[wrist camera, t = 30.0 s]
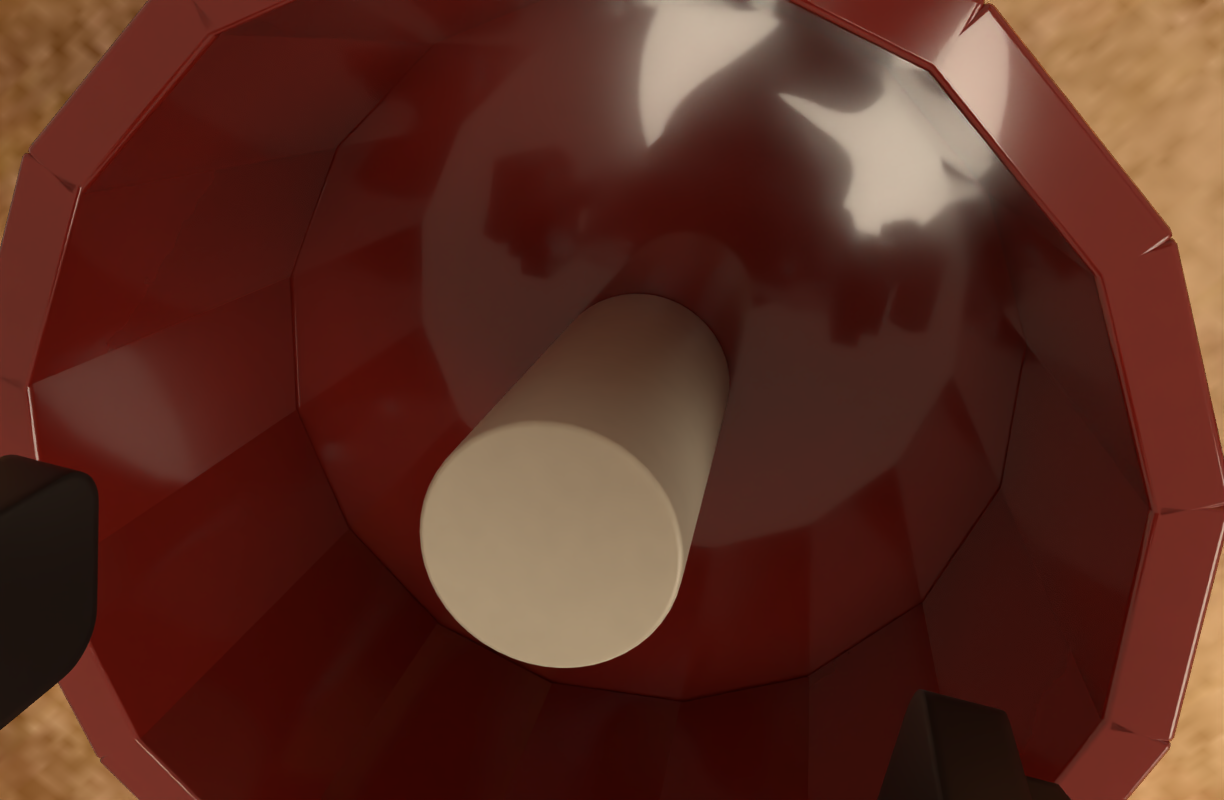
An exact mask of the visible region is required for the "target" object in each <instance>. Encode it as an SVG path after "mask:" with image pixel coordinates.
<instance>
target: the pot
mask: <svg viewBox="0 0 1224 800" xmlns="http://www.w3.org/2000/svg"><path fill="white" fill-rule="evenodd" d="M28 152H29V153H25V154H24V155H23V157H22V161H21V165H20V169H19V173H18V177H17V182H16V186H15V190H14V194H13V198H12V202H11V206H10V210H9V214H8V218H7V222H6V226H5V230H4V234H3V238H2V242H1V246H0V457H2V456H5V455H19V456H23V457H27V458H30V459H34V460H38V461H42V462H46V463H50V464H54V465H58V466H62V467H65V468H69V469H73V470H77V471H81V472H84V473H87V474H88V475H89V476H91V477H92V479H93V480H94V482H95V484H96V486H97V490H98V495H99V527H98V588H97V617H96V622H95V626H94V630H93V633H92V636H91V639H90V641H89V643H88V646H87V648H86V650H85V651H84V653H83V655H82V657H81V658H80V660H79V661H78V663H77V664H76V665H75V667H74V668H73V669H72V670H71V671H70V672H69V673H68V674H67V675H66V676H65V677H64V678H63V679H61V680H60V681H59V682H58V684H59V686H60V687H61V689H62V691H63V693H64V695H65V697H66V699H67V701H68V703H69V704H70V706H71V708H72V710H73V712H74V714H75V716H76V718H77V720H78V721H79V723H80V725H81V727H82V729H83V731H84V733H85V735H86V737H87V738H88V740H89V742H90V744H91V746H92V748H93V750H94V752H95V754H96V755H97V757H99V758H101V759H100V762H101V763H102V764H103V765H104V766H105V767H106V768H107V769H108V770H109V771H110V772H111V773H112V774H113V775H114V776H115V777H116V778H117V779H118V780H119V781H120V782H121V783H122V784H123V785H124V786H125V787H126V788H127V789H128V790H129V791H130V792H131V793H132V794H133V795H134V796H136V797H137V798H138V799H139V800H877V799H878V796H879V793H880V790H881V787H882V784H883V781H884V777H885V774H886V771H887V768H888V765H889V762H890V759H891V756H892V753H893V750H894V747H895V744H896V741H897V738H898V735H899V731H900V728H901V725H902V722H903V719H904V716H905V713H906V710H907V708H908V705H909V703H910V700H911V699H912V697H913V695H914V694H915V692H916V691H917V690H919V689H922V690H926V691H930V692H934V693H938V694H942V695H946V696H950V697H954V698H958V699H961V700H965V701H969V702H973V703H977V704H981V705H985V706H989V707H993V708H997V709H1000V710H1003V711H1004V712H1005V713H1006V714H1007V716H1008V718H1009V721H1010V725H1011V728H1012V731H1013V735H1014V738H1015V742H1016V745H1017V749H1018V752H1019V756H1020V759H1021V762H1022V766H1023V769H1024V773H1025V776H1029V777H1033V778H1037V779H1041V780H1044V781H1048V782H1052V783H1056V784H1059V785H1060V787H1061V788H1062V789H1063V790H1064V792H1065V793H1066V794H1067V795H1068V796H1069V798H1070V799H1071V800H1127V799H1128V798H1129V797H1130V796H1131V794H1132V793H1133V792H1134V791H1135V790H1136V789H1137V787H1138V786H1139V785H1140V784H1141V783H1142V781H1143V780H1144V779H1145V778H1146V777H1147V775H1148V774H1149V773H1150V772H1151V771H1152V769H1153V768H1154V767H1155V766H1156V765H1157V764H1158V762H1159V761H1160V760H1161V759H1162V758H1163V756H1164V755H1165V754H1166V753H1167V752H1168V750H1169V749H1170V744H1171V743H1170V741H1172V740H1173V738H1174V735H1175V732H1176V728H1177V724H1178V720H1179V716H1180V712H1181V708H1182V704H1183V700H1184V696H1185V692H1186V688H1187V684H1188V681H1189V677H1190V673H1191V669H1192V665H1193V661H1194V657H1195V653H1196V649H1197V645H1198V641H1199V637H1200V634H1201V630H1202V626H1203V622H1204V618H1205V614H1206V610H1207V606H1208V602H1209V598H1210V594H1211V590H1212V586H1213V583H1214V579H1215V575H1216V571H1217V567H1218V563H1219V559H1220V555H1221V551H1222V547H1223V543H1224V456H1223V451H1222V446H1221V442H1220V437H1219V433H1218V428H1217V424H1216V419H1215V414H1214V410H1213V405H1212V401H1211V396H1210V391H1209V387H1208V382H1207V378H1206V373H1205V369H1204V364H1203V359H1202V355H1201V350H1200V346H1199V341H1198V337H1197V332H1196V327H1195V323H1194V318H1193V314H1192V309H1191V304H1190V300H1189V295H1188V291H1187V286H1186V282H1185V277H1184V272H1183V268H1182V263H1181V259H1180V254H1179V249H1178V245H1177V243H1176V242H1175V240H1174V239H1173V238H1171V236H1172V232H1171V229H1170V227H1169V226H1168V225H1167V224H1166V222H1165V221H1164V220H1163V219H1162V217H1161V216H1160V215H1159V213H1158V212H1157V211H1156V210H1155V208H1154V207H1153V206H1152V205H1151V203H1150V202H1149V201H1148V200H1147V198H1146V197H1145V196H1144V194H1143V193H1142V192H1141V191H1140V189H1139V188H1138V187H1137V186H1136V184H1135V183H1134V182H1133V180H1132V179H1131V178H1130V177H1129V175H1128V174H1127V173H1126V172H1125V170H1124V169H1123V168H1122V167H1121V165H1120V164H1119V163H1118V161H1117V160H1116V159H1115V158H1114V156H1113V155H1112V154H1111V153H1110V151H1109V150H1108V149H1107V148H1106V146H1105V145H1104V144H1103V142H1102V141H1101V140H1100V139H1099V137H1098V136H1097V135H1096V134H1095V132H1094V131H1093V130H1092V129H1091V127H1090V126H1089V125H1088V123H1087V122H1086V121H1085V120H1084V118H1083V117H1082V116H1081V115H1080V113H1079V112H1078V111H1077V110H1076V108H1075V107H1074V106H1073V104H1072V103H1071V102H1070V101H1069V99H1068V98H1067V97H1066V96H1065V94H1064V93H1063V92H1062V91H1061V89H1060V88H1059V87H1058V85H1057V84H1056V83H1055V82H1054V80H1053V79H1052V78H1051V77H1050V75H1049V74H1048V73H1047V72H1046V70H1045V69H1044V68H1043V66H1042V65H1041V64H1040V63H1039V61H1038V60H1037V59H1036V58H1035V56H1034V55H1033V54H1032V53H1031V51H1030V50H1029V49H1028V47H1027V46H1026V45H1025V44H1024V42H1023V41H1022V40H1021V39H1020V37H1019V36H1018V35H1017V34H1016V32H1015V31H1014V30H1013V28H1012V27H1011V26H1010V25H1009V23H1008V22H1007V21H1006V20H1005V18H1004V17H1003V16H1002V15H1001V13H1000V12H999V11H998V9H997V8H996V7H995V6H994V5H992V4H990V3H986V4H985V0H148V1H147V2H146V3H145V5H144V6H143V7H142V8H141V9H140V11H139V12H138V13H137V14H136V16H135V17H134V18H133V19H132V21H131V22H130V23H129V24H128V26H127V27H126V28H125V29H124V31H123V32H122V33H121V34H120V36H119V37H118V38H117V39H116V40H115V42H114V43H113V44H112V45H111V47H110V48H109V49H108V50H107V52H106V53H105V54H104V55H103V57H102V58H101V59H100V60H99V62H98V63H97V64H96V65H95V66H94V68H93V69H92V70H91V71H90V73H89V74H88V75H87V76H86V78H85V79H84V80H83V81H82V83H81V84H80V85H79V86H78V88H77V89H76V90H75V91H74V93H73V94H72V95H71V96H70V97H69V99H68V100H67V101H66V102H65V104H64V105H63V106H62V107H61V109H60V110H59V111H58V112H57V114H56V115H55V116H54V117H53V119H52V120H51V121H50V122H49V123H48V125H47V126H46V127H45V128H44V130H43V131H42V132H41V133H40V135H39V136H38V137H37V138H36V140H35V141H34V142H33V143H32V145H31V146H30V147H29V150H28ZM625 294H648V295H655V296H659V297H663V298H666V299H669V300H671V301H674V302H676V303H678V304H680V305H682V306H684V307H685V308H687V309H689V310H690V311H692V312H693V313H694V314H695V315H697V316H698V317H699V318H700V319H701V320H702V321H703V322H704V323H705V324H706V325H707V326H708V327H709V329H710V330H711V331H712V332H713V334H714V335H715V337H716V338H717V340H718V342H719V344H720V345H721V348H722V350H723V353H724V355H725V358H726V362H727V366H728V371H729V396H728V402H727V406H726V410H725V414H724V418H723V421H722V425H721V429H720V433H719V437H718V441H717V445H716V449H715V453H714V456H713V460H712V464H711V468H710V472H709V476H708V480H707V484H706V488H705V491H704V495H703V499H702V503H701V507H700V511H699V515H698V519H697V523H696V527H695V530H694V534H693V538H692V542H691V546H690V550H689V554H688V558H687V562H686V565H685V569H684V573H683V577H682V581H681V584H680V588H679V591H678V594H677V597H676V599H675V601H674V603H673V605H672V607H671V609H670V611H669V613H668V614H667V616H666V617H665V619H664V620H663V622H662V623H661V624H660V625H659V626H658V628H657V629H656V630H655V631H654V632H653V633H652V634H651V635H650V636H649V637H648V638H646V639H645V640H644V641H643V642H641V643H640V644H639V645H638V646H636V647H634V648H633V649H631V650H629V651H628V652H626V653H624V654H622V655H620V656H618V657H615V658H613V659H611V660H608V661H605V662H602V663H598V664H595V665H589V666H583V667H574V668H556V667H544V666H539V665H534V664H530V663H526V662H523V661H520V660H517V659H514V658H511V657H509V656H506V655H504V654H502V653H500V652H498V651H496V650H494V649H492V648H491V647H489V646H487V645H486V644H484V643H482V642H481V641H480V640H478V639H477V638H476V637H474V636H473V635H472V634H470V633H469V632H468V631H467V630H466V629H465V628H464V627H463V626H462V625H461V624H459V623H458V622H457V621H456V619H455V618H454V617H453V616H452V615H451V613H450V612H449V611H448V610H447V609H446V607H445V606H444V604H443V603H442V601H441V600H440V598H439V597H438V595H437V593H436V591H435V589H434V587H433V585H432V583H431V581H430V579H429V576H428V574H427V571H426V568H425V565H424V561H423V556H422V551H421V543H420V517H421V511H422V506H423V501H424V498H425V495H426V492H427V490H428V487H429V485H430V483H431V481H432V479H433V477H434V475H435V473H436V472H437V470H438V469H439V468H440V466H441V465H442V463H443V462H444V461H445V459H446V458H447V457H448V456H449V455H450V454H451V453H452V452H453V451H454V450H455V449H456V447H457V446H458V445H459V444H460V443H461V442H462V441H463V440H464V439H465V438H466V437H467V436H468V434H469V433H470V432H471V431H472V430H473V429H474V428H475V427H476V426H477V425H478V424H479V423H480V421H481V420H482V419H483V418H484V417H485V416H486V415H487V414H488V413H489V412H490V411H491V410H492V408H493V407H494V406H495V405H496V404H497V403H498V402H499V401H500V400H501V399H502V398H503V397H504V395H505V394H506V393H507V392H508V391H509V390H510V389H511V388H512V387H513V386H514V385H515V384H516V382H517V381H518V380H519V379H520V378H521V377H522V376H523V375H524V374H525V373H526V372H527V371H528V369H529V368H530V367H531V366H532V365H533V364H534V363H535V362H536V361H537V360H538V359H539V358H540V356H541V355H542V354H543V353H544V352H545V351H546V350H547V349H548V348H549V347H550V346H551V345H552V343H553V342H554V341H555V340H556V339H557V338H558V337H559V336H560V335H561V334H562V333H563V332H564V330H565V329H566V328H567V327H568V326H569V325H570V324H571V323H572V322H573V321H574V320H575V319H576V318H577V317H578V316H579V315H580V314H581V313H582V312H584V311H585V310H586V309H588V308H589V307H591V306H593V305H595V304H596V303H598V302H600V301H603V300H605V299H608V298H611V297H615V296H619V295H625Z"/></svg>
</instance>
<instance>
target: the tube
mask: <svg viewBox="0 0 1224 800" xmlns="http://www.w3.org/2000/svg"><path fill="white" fill-rule="evenodd" d="M728 396H729V371H728V366H727V362H726V358H725V355H724V353H723V350H722V348H721V345H720V344H719V342H718V340H717V338H716V337H715V335H714V334H713V332H712V331H711V330H710V329H709V327H708V326H707V325H706V324H705V323H704V322H703V321H702V320H701V319H700V318H699V317H698V316H697V315H695V314H694V313H693V312H692V311H690V310H689V309H687V308H685V307H684V306H682V305H680V304H678V303H676V302H674V301H671V300H669V299H666V298H663V297H659V296H655V295H648V294H625V295H619V296H615V297H611V298H608V299H605V300H603V301H600V302H598V303H596V304H595V305H593V306H591V307H589V308H588V309H586V310H585V311H584V312H582V313H581V314H580V315H579V316H578V317H577V318H576V319H575V320H574V321H573V322H572V323H571V324H570V325H569V326H568V327H567V328H566V329H565V330H564V332H563V333H562V334H561V335H560V336H559V337H558V338H557V339H556V340H555V341H554V342H553V343H552V345H551V346H550V347H549V348H548V349H547V350H546V351H545V352H544V353H543V354H542V355H541V356H540V358H539V359H538V360H537V361H536V362H535V363H534V364H533V365H532V366H531V367H530V368H529V369H528V371H527V372H526V373H525V374H524V375H523V376H522V377H521V378H520V379H519V380H518V381H517V382H516V384H515V385H514V386H513V387H512V388H511V389H510V390H509V391H508V392H507V393H506V394H505V395H504V397H503V398H502V399H501V400H500V401H499V402H498V403H497V404H496V405H495V406H494V407H493V408H492V410H491V411H490V412H489V413H488V414H487V415H486V416H485V417H484V418H483V419H482V420H481V421H480V423H479V424H478V425H477V426H476V427H475V428H474V429H473V430H472V431H471V432H470V433H469V434H468V436H467V437H466V438H465V439H464V440H463V441H462V442H461V443H460V444H459V445H458V446H457V447H456V449H455V450H454V451H453V452H452V453H451V454H450V455H449V456H448V457H447V458H446V459H445V461H444V462H443V463H442V465H441V466H440V468H439V469H438V470H437V472H436V473H435V475H434V477H433V479H432V481H431V483H430V485H429V487H428V490H427V492H426V495H425V498H424V501H423V506H422V511H421V517H420V543H421V551H422V556H423V561H424V565H425V568H426V571H427V574H428V576H429V579H430V581H431V583H432V585H433V587H434V589H435V591H436V593H437V595H438V597H439V598H440V600H441V601H442V603H443V604H444V606H445V607H446V609H447V610H448V611H449V612H450V613H451V615H452V616H453V617H454V618H455V619H456V621H457V622H458V623H459V624H461V625H462V626H463V627H464V628H465V629H466V630H467V631H468V632H469V633H470V634H472V635H473V636H474V637H476V638H477V639H478V640H480V641H481V642H482V643H484V644H486V645H487V646H489V647H491V648H492V649H494V650H496V651H498V652H500V653H502V654H504V655H506V656H509V657H511V658H514V659H517V660H520V661H523V662H526V663H530V664H534V665H539V666H544V667H556V668H574V667H583V666H589V665H595V664H598V663H602V662H605V661H608V660H611V659H613V658H615V657H618V656H620V655H622V654H624V653H626V652H628V651H629V650H631V649H633V648H634V647H636V646H638V645H639V644H640V643H641V642H643V641H644V640H645V639H646V638H648V637H649V636H650V635H651V634H652V633H653V632H654V631H655V630H656V629H657V628H658V626H659V625H660V624H661V623H662V622H663V620H664V619H665V617H666V616H667V614H668V613H669V611H670V609H671V607H672V605H673V603H674V601H675V599H676V597H677V594H678V591H679V588H680V584H681V581H682V577H683V573H684V569H685V565H686V562H687V558H688V554H689V550H690V546H691V542H692V538H693V534H694V530H695V527H696V523H697V519H698V515H699V511H700V507H701V503H702V499H703V495H704V491H705V488H706V484H707V480H708V476H709V472H710V468H711V464H712V460H713V456H714V453H715V449H716V445H717V441H718V437H719V433H720V429H721V425H722V421H723V418H724V414H725V410H726V406H727V402H728Z"/></svg>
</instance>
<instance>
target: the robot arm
mask: <svg viewBox="0 0 1224 800" xmlns="http://www.w3.org/2000/svg"><path fill="white" fill-rule="evenodd" d="M98 527H99V495H98V490H97V486H96V484H95V482H94V480H93V479H92V477H91V476H89V475H88V474H87V473H84V472H81V471H77V470H73V469H69V468H65V467H62V466H58V465H54V464H50V463H46V462H42V461H38V460H34V459H30V458H27V457H23V456H19V455H5V456H2V457H0V730H1V729H2V728H3V727H5V726H6V725H7V724H8V723H9V722H11V721H12V720H13V719H14V718H15V717H17V716H18V715H19V714H20V713H21V712H23V711H24V710H25V709H26V708H28V707H29V706H30V705H31V704H32V703H34V702H35V701H36V700H37V699H38V698H40V697H41V696H42V695H43V694H44V693H46V692H47V691H48V690H49V689H51V688H52V687H53V686H54V685H55V684H57V683H58V682H59V681H60V680H61V679H63V678H64V677H65V676H66V675H67V674H68V673H69V672H70V671H71V670H72V669H73V668H74V667H75V665H76V664H77V663H78V661H79V660H80V658H81V657H82V655H83V653H84V651H85V650H86V648H87V646H88V643H89V641H90V639H91V636H92V633H93V630H94V626H95V622H96V617H97V588H98ZM877 800H1071V799H1070V798H1069V796H1068V795H1067V794H1066V793H1065V792H1064V790H1063V789H1062V788H1061V787H1060V785H1059V784H1056V783H1052V782H1048V781H1044V780H1041V779H1037V778H1033V777H1029V776H1025V773H1024V769H1023V766H1022V762H1021V759H1020V756H1019V752H1018V749H1017V745H1016V742H1015V738H1014V735H1013V731H1012V728H1011V725H1010V721H1009V718H1008V716H1007V714H1006V713H1005V712H1004V711H1003V710H1000V709H997V708H993V707H989V706H985V705H981V704H977V703H973V702H969V701H965V700H961V699H958V698H954V697H950V696H946V695H942V694H938V693H934V692H930V691H926V690H922V689H919V690H917V691H916V692H915V694H914V695H913V697H912V699H911V700H910V703H909V705H908V708H907V710H906V713H905V716H904V719H903V722H902V725H901V728H900V731H899V735H898V738H897V741H896V744H895V747H894V750H893V753H892V756H891V759H890V762H889V765H888V768H887V771H886V774H885V777H884V781H883V784H882V787H881V790H880V793H879V796H878V799H877Z"/></svg>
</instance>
